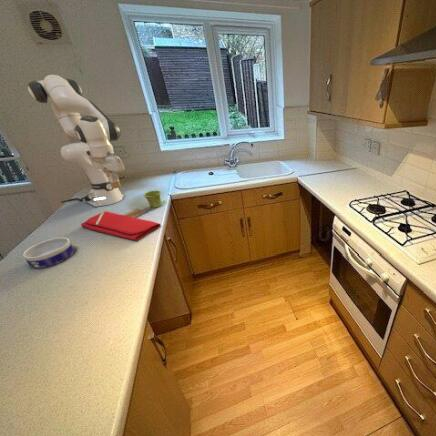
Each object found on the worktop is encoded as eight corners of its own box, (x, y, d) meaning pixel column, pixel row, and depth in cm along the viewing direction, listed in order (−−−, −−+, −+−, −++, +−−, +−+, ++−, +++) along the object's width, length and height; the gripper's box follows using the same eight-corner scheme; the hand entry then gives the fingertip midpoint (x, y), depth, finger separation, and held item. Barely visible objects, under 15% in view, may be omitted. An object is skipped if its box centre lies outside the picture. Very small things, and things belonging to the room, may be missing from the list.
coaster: (122, 216, 141) (122, 215, 141) (136, 209, 148) (135, 209, 148) (133, 218, 138) (132, 218, 138) (146, 212, 145) (146, 211, 145)
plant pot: (157, 209, 148) (153, 196, 143) (144, 208, 149) (140, 195, 145) (167, 203, 156) (163, 190, 151) (155, 202, 157) (150, 190, 153)
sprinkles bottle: (110, 187, 129) (100, 162, 122) (120, 184, 132) (110, 160, 125) (113, 189, 126) (103, 164, 120) (122, 186, 129) (113, 162, 123)
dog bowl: (21, 272, 99) (12, 260, 96) (43, 251, 112) (36, 240, 109) (64, 264, 102) (57, 253, 99) (81, 245, 115) (75, 234, 112)
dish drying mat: (135, 242, 116) (133, 235, 114) (81, 228, 130) (78, 222, 128) (161, 226, 129) (159, 220, 127) (109, 215, 142) (107, 209, 141)
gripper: (122, 152, 119) (132, 178, 126) (96, 148, 126) (106, 174, 133) (110, 155, 114) (120, 182, 121) (83, 151, 121) (94, 177, 128)
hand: (113, 178), depth 127 cm, fingers closed on sprinkles bottle, 4 cm apart
